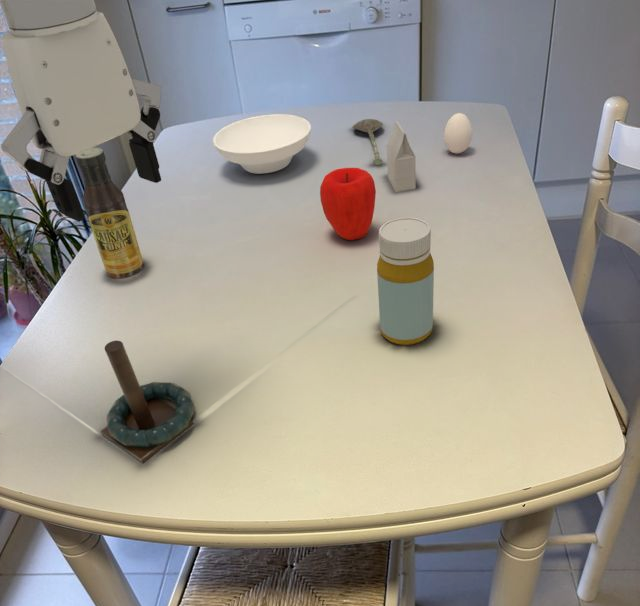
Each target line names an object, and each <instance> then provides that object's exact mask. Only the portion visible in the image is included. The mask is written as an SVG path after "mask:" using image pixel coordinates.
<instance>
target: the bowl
mask: <svg viewBox="0 0 640 606" xmlns="http://www.w3.org/2000/svg"><path fill="white" fill-rule="evenodd" d="M311 131H312V125H311V123H310V122H309V120H307V119H306V118H304V117H301V116H298V115H294V114H285V113H274V114H273V113H272V114H262V115H255V116H252V117H247V118H243V119H240V120H237V121H234V122H232V123H230V124H228V125H226V126H224V127H222V128H221V129H219V130H218V131H217V132H216V133H215V134H214V136H213V138H212V144H213V146H214V147H215V149H216V151H217V152H218V153H219V154H220V156H222V157H223V158H224V159H225V160H227V161H228V162H231V163H233V164H238V165H239V166H240V167H242V168H243V169H244V171H246V172H247V173H251V174H269V173H274V172H278V171H280V170H282V169H285V168H286V167H288V166H289V164H291V161H292V160H293V157H294V156H295V155H297V154H298V153H299V152H301V151H302V150H303V149H304V148H305V146H306V145H307V143H308V141H309V139H310V136H311Z"/></svg>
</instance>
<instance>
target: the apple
mask: <svg viewBox="0 0 640 606" xmlns="http://www.w3.org/2000/svg"><path fill="white" fill-rule="evenodd" d="M375 184H376V183H375V180H374V177H373V176H372V175H371V173H369V171H367V170H365V169H363V168H360V167H341V168H337V169H333V170H331V171H330V172H328V173H327V174H325V176H324V178H323V179H322V181H321V184H320V186H319V198H320V203H321V206H322V207H321V208H322V210H323V213H324V216H325V218H326V220H327V222H328V223H329V225H330V226H331V227H332V229H333V230H334V231H335V233H336V234H337V235H338V236H339V237H340V238H342V239H344V240H347V241H354V240H359V239H363V238H365V237H366V236H367V235H368V233H369V230H370V227H371V225H372V222H373V217H374V213H375V205H376V195H377V192H376V191H377V189H376V185H375Z"/></svg>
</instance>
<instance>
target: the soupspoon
mask: <svg viewBox="0 0 640 606" xmlns="http://www.w3.org/2000/svg"><path fill="white" fill-rule="evenodd" d="M382 126H384V123H383V122H382V121H380V120H379V119H374V118H366V119H361V120H359V121H357V122H356V123H355V124H353V125H352V129H356V130H358V131H361V132H364V133H367V134H368V136H369V138H370V141H371V144H372V147H373V151H374V153H373V155H374V159H373V161H372V163H373V165H374V166H381V165H382V163H383V159H382V158H381V157H380V153H379V149H378V146H377V145H378V144H377V142H376V139H375V135H374V133H375V132H376V131H377V130H379V129H380V128H381V127H382Z"/></svg>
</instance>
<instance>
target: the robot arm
mask: <svg viewBox="0 0 640 606" xmlns="http://www.w3.org/2000/svg"><path fill="white" fill-rule="evenodd" d="M96 7H97V3H96V0H0V9H1V12H2V14H3V16H4V20H5V23H6V24H7V27H8V29H9V31H8V32H6V33H3V34H2V35H1V40H2V45H3V50H4V55H5V60H6V65H7V69H8V73H9V76H10V80H11V84H12V87H13V92H14V94H15V98H16V100H17V104H18V107H19V110H20V112H21V118H20V119H19V120H18V121H17V123H16V124H15V125H14V127H13V128H12V129H11V130H10V132H9V134H8V135H7V136H6V137H5V139H4V140H3V141H2V143H1V146H0V149H1V151H2V152H3V153H4V154H5V155H6V156H7V157H8V158H9V159H10V160H12V161H13V162H14V163H15V164H16V165H18V166H19V167H20V169H21V170H22V171H25V172H28V174H29V173H30V174H31V175H34V176H36V177H38V178H40V179H42V180H44V181H45V183H46V185H47V187H48V190H49V193H50V195H51V197H52V199H53V202H54V204H55V207H56V209H57V211H58V212H59V213H60V214H62V215H64V216H65V217H67V218H68V219H72V220H74V221H76V222H78V223H79V222H82V221H84V220H85V217H86V215H85V212H84V210H83V208H82V204H81V202H80V200H79V196H78V195H77V191H76V189H75V187H74V184H73V182H72V181H71V180H69V179H67V178H66V177H65V176H66V174H67V169H68V166H69V160H70V158H71V157H72V156H75V155H76V154H78V153H81V152H83V151H85V150H88V149H90V148H96V147H97V146H99V145H102V144H104V143H106V142H108V141H111V140H112V139H115V138H117V137H119V136H122V135H124V134H126V133H127V134H129V135H131V138H130V139H128V142H129V143H128V146H129V148H130V151H131V155H132V158H133V163H134V165H135V168H136V172H137V175H138V177H139V179H142V180H145V181H149V182H152V183H155V184H158V183H161V181H162V176H161V173H160V170H159V169H160V163H159V159H158V156H157V152H156V149H155V145H154V142H155V141H156V139H157V133H156V129H157V126H158V124H159V121H160V119H161V112H160V108H161V100H162V87H161V86H160V85H159V84H155V83H151V82H147V81H143V80H140V79H136V78H132V77H131V74H130V72H129V69H128V65H127V64H126V61H125V58H124V55H123V53H122V51H121V48H120V46H119V44H118V41H117V39H116V37H115V34H114V32H113V30H112V28H111V26H110V24H109V22H108V20H107V19H106V16H105V14H104V13H103V12H102V11H97V8H96ZM137 95H141V97H142V104H143V106H142V107H141V108H140V103H139V99H138V96H137ZM30 142H32V143H33V145H34V146H35V147H36V148H38V149H40V150H41V154H40V157H39V161H38V160H36V159H35V158H34V157H33V156H32V155H31V154H30V153H29V152H28V150H27V148H28V145H29V143H30Z"/></svg>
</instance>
